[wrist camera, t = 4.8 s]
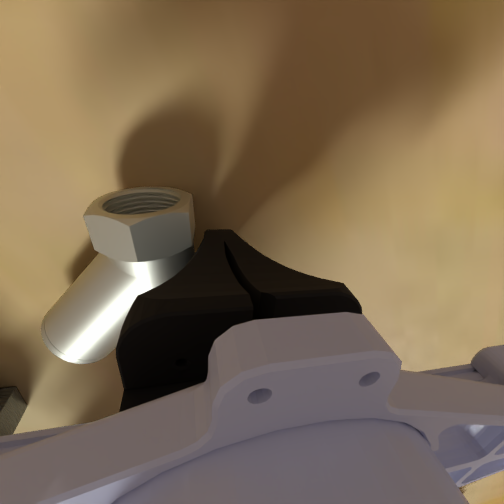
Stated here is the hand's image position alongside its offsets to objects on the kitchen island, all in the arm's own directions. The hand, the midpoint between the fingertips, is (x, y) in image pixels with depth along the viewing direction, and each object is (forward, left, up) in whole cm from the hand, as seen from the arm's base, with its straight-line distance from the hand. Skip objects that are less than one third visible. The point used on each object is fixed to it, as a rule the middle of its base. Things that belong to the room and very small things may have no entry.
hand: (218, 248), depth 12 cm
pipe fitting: (-1, +4, -1) cm, 5 cm away
